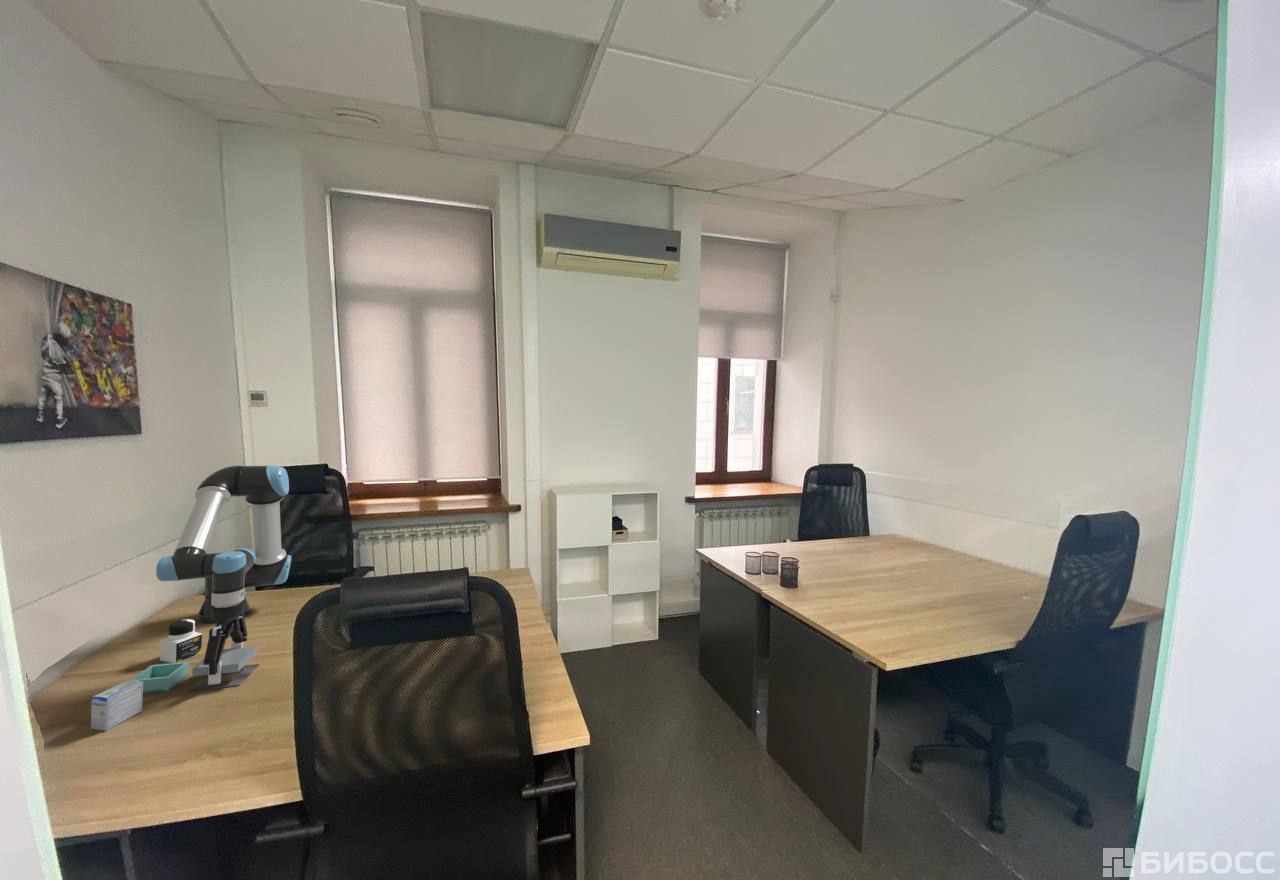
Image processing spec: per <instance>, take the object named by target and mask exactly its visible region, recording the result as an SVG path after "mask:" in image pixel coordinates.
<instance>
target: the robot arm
mask: <svg viewBox="0 0 1280 880" xmlns="http://www.w3.org/2000/svg"><path fill="white" fill-rule="evenodd" d="M289 480H290V479H289V474H288V471H287V470H286V468H284V467H283V466H278V465H276V466H275V465H231V466H226V467H224V468H221V469H219V470H217V471H215V472H213V473H211V474H209V476H207V477H206V478H205V479H204V480H203V481H201V483H200V484H199V486H198V487H197V489H196V491H195V493H194V497H195V500H196V501H195V503H194V506H193V507H192V511H191V512H190V515H189V517H188V519H187V521H186V524H185V526H184V528H183V531H182V533H181V536H180V538H179V540H178V542H177V544H176V547H175V548H174V551H173V555H168V556H163V557H161V559H159V560H158V562H157V564H156V568H155V575H156V578H157V580H158V581H160V582H176V581H177V582H179V581H185V580H193V579H194V580H195V579H204V600H203V602H202V604H201V607H200V608H199V611H198V614H197V621H198V622H199V623H203V624H204V623H206V624H207V623H208V624H209V623H211V624H212V623H213V624H214V623H216V626H215V627H214V628H210V629H209V632H208V640H207V641H208V642H207V644H206V650H205V654H204V658H203V659H204V663H203V665H209V671H208V685H212V684H220V683H221V664H222V661H220V658H221V655H222V652H223V649H225V645H226V643H227V639H229V638H231V640H232V642H233V643H231V644H230V646H231V647H230V649H232V648H244V642H247V641H248V631H247V625H246V620H245V615H246V614H247V612H248V611H250V604H249V601H248V599H247V596H246V594H247V591H245V589H246V588H254V587H255V588H256V587H264V586H265V587H266V586H274V585H282V584H284V583H286V581H287V579H288V577H289V572H290V568H291V564H292V555H290V554H287V550H285V549H284V548H283V547H282V529H281V528H282V527H281V525H282V524H281V506H280V502H281V501H282V500H283V499H284V498H285V496H287V495H288V494H289V492H290V485H289V484H290V481H289ZM233 497H245V502H246V503H247V504H249V505H250V507H251V520H252V534H253V549H254V550H251V549H250V548H238V549H237V548H236V549H235V550H233V551H226V552H215V553H214V552H211V553H208V551H209V547H210V545H211V542H212V539H213V537H214V533H215V531H216V528H217V526H218V524H219V521H220V518H221V515H222V513H223V510H224V507H225V504H227V503H228V502H229V501H231V498H233ZM248 613H249V612H248ZM244 614H245V615H244Z"/></svg>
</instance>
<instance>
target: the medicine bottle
mask: <svg viewBox="0 0 1280 880" xmlns="http://www.w3.org/2000/svg"><path fill="white" fill-rule="evenodd" d="M195 625H196V621H195V620H194V619H189V618H188V619H180V620H177V621H174V622H172V623H171V624H169V625H168V636H166V637H164V638H161V640H160V646H159V647H160V648H159V649H160V651H159V653H160V654H159V655H160V656H159V658H160V659H159V661H160V662H165V663H168V664H170V663H181V662H186V661H187V660H189V659H192V658H195V657H196V656H199V655H201V654H202V645H203V633H201V632H197V631H196V626H195Z"/></svg>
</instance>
